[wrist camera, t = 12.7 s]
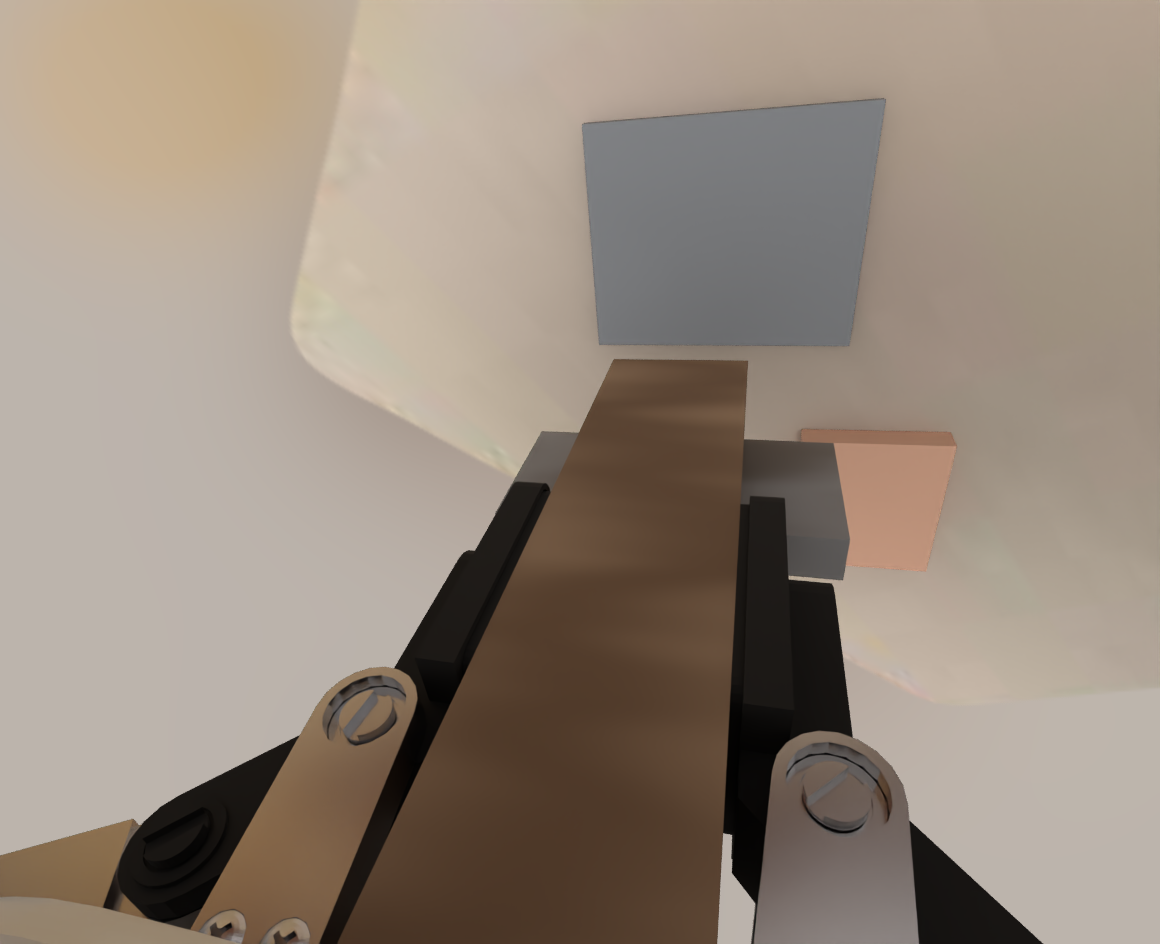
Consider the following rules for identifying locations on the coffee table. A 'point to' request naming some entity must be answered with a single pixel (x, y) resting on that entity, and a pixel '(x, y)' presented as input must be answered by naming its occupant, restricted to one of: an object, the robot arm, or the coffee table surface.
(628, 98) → the coffee table surface
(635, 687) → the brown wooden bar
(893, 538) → the tile
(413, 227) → the coffee table surface
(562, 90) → the coffee table surface
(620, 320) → the mat
